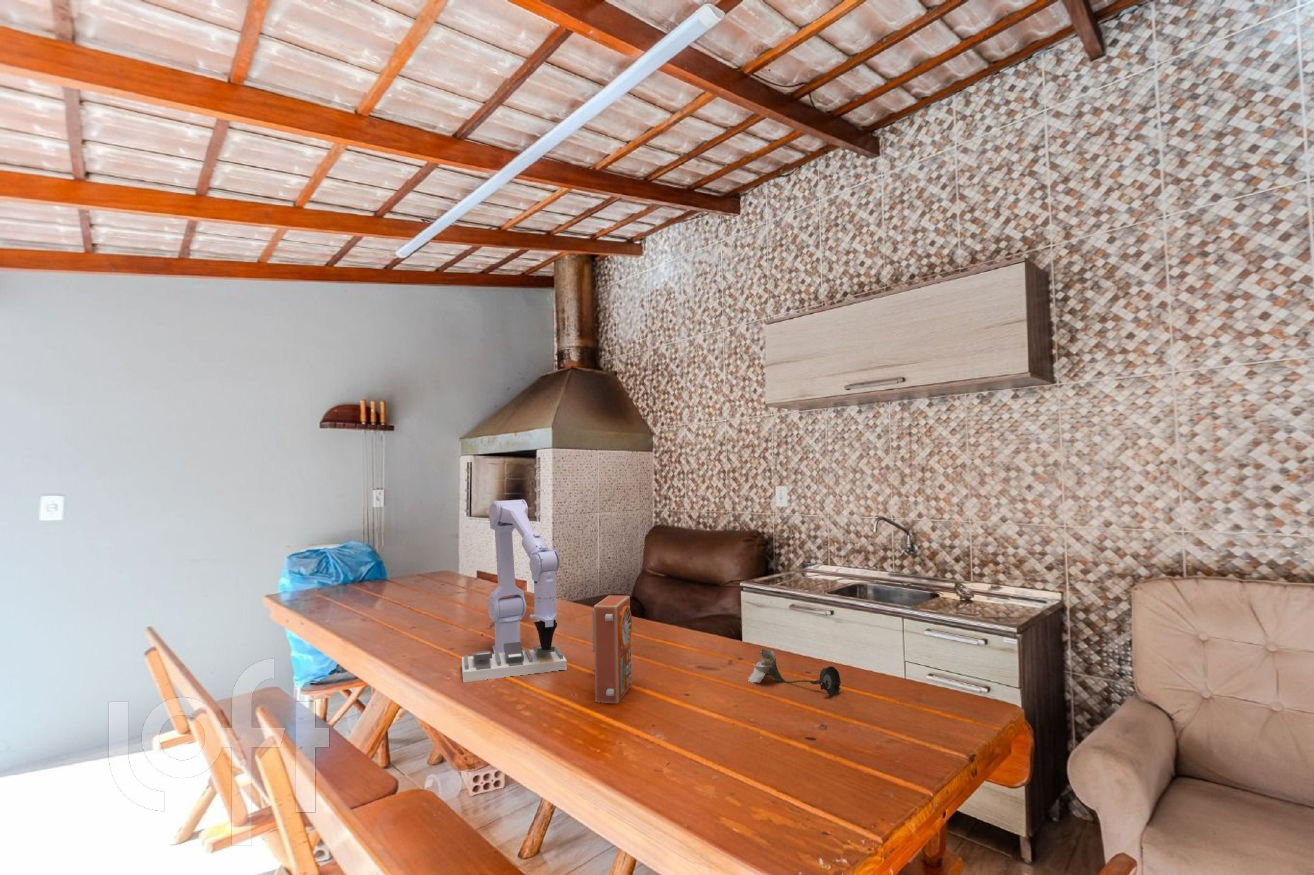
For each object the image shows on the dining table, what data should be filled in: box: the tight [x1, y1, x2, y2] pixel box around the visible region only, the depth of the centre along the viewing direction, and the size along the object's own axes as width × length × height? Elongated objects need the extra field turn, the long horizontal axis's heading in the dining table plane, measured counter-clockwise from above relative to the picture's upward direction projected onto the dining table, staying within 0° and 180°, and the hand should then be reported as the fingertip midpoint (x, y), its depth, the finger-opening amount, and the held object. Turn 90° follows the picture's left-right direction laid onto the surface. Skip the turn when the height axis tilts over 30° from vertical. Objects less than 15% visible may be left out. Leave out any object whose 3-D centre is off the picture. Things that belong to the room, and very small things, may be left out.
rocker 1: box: [472, 650, 493, 660], centre depth 167 cm, size 9×4×1 cm, turn 18°
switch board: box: [461, 645, 568, 683], centre depth 169 cm, size 14×26×4 cm, turn 108°
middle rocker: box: [504, 641, 524, 663], centre depth 170 cm, size 9×4×1 cm, turn 18°
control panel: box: [591, 594, 633, 705], centre depth 149 cm, size 21×7×15 cm
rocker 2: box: [532, 644, 555, 653], centre depth 172 cm, size 9×4×1 cm, turn 18°
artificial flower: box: [747, 648, 842, 699], centre depth 151 cm, size 9×22×10 cm, turn 45°
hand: (545, 649), depth 168 cm, fingers closed
